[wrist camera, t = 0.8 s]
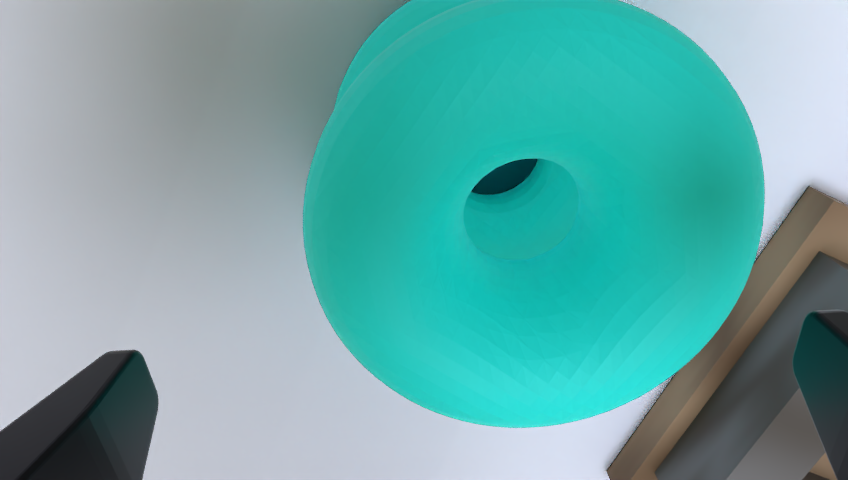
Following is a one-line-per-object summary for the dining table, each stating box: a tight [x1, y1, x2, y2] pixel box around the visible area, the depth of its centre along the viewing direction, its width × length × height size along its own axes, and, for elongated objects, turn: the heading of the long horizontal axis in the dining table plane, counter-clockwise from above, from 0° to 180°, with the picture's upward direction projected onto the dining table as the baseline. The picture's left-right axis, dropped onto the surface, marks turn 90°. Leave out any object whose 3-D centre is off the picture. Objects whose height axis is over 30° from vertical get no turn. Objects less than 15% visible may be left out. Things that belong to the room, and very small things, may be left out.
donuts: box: [303, 0, 765, 428], centre depth 18 cm, size 10×10×10 cm
